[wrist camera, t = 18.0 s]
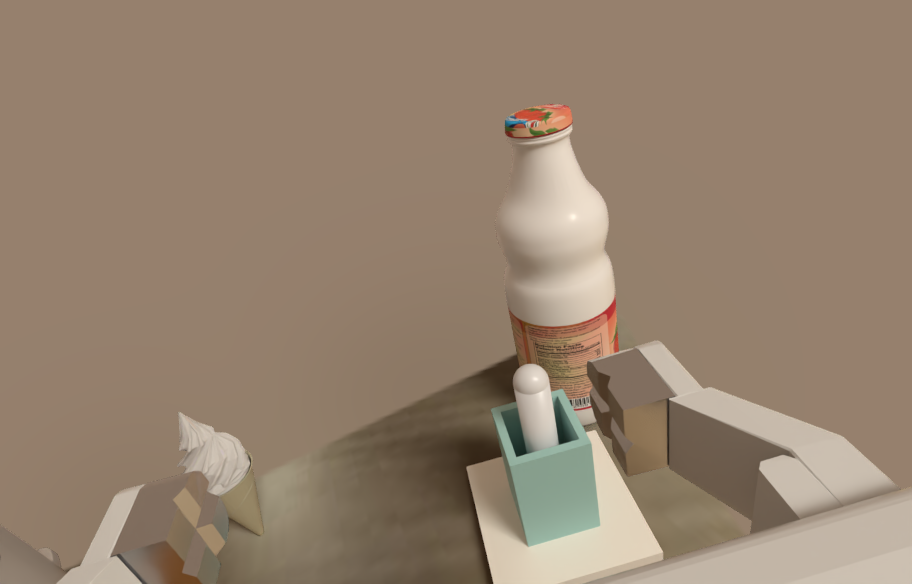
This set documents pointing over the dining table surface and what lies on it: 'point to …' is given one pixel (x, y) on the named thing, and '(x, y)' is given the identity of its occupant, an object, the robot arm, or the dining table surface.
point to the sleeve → (550, 474)
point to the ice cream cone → (222, 470)
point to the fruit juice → (556, 256)
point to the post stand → (570, 557)
